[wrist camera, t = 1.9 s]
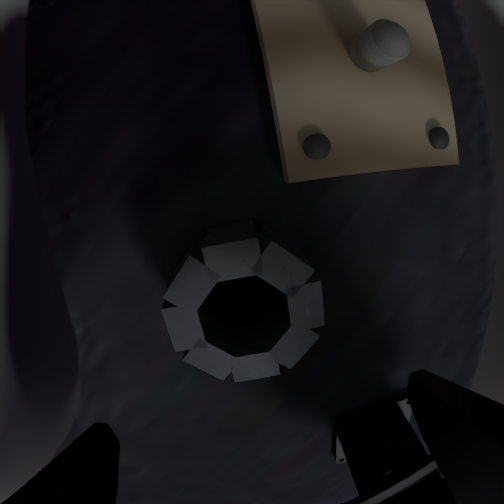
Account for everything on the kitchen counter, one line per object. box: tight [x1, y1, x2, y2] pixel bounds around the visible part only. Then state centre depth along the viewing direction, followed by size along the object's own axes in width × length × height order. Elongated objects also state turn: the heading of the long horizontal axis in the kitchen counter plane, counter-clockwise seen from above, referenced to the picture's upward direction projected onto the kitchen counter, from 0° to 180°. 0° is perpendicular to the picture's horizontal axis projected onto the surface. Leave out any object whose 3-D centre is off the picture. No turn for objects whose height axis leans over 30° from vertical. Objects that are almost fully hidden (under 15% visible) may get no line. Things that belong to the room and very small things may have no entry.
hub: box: [161, 219, 325, 382], centre depth 15 cm, size 7×7×4 cm
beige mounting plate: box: [251, 0, 459, 183], centre depth 11 cm, size 12×10×5 cm
